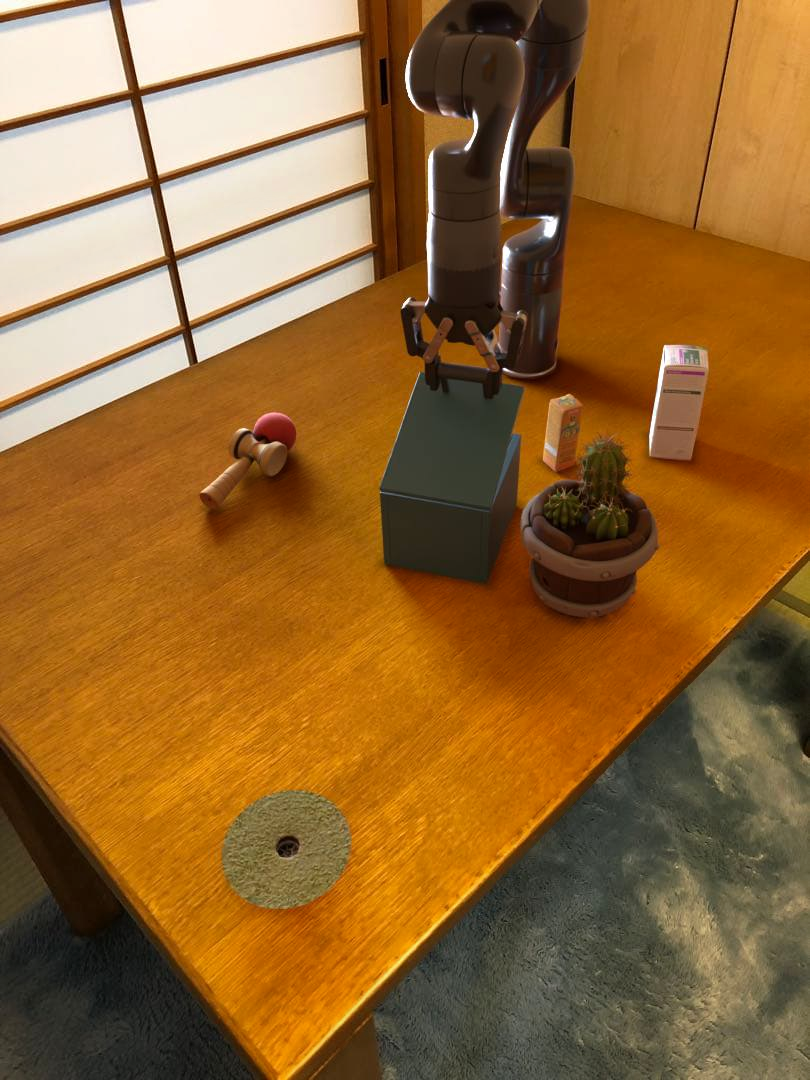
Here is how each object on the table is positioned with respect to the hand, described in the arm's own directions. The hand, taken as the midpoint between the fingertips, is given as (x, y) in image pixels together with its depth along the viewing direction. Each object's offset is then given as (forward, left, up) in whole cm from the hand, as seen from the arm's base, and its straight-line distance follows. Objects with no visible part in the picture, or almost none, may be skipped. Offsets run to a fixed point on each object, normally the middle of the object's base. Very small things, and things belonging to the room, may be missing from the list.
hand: (463, 390), depth 101 cm
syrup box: (-9, +31, -18) cm, 37 cm away
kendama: (-13, -27, -18) cm, 35 cm away
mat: (+45, -24, -18) cm, 54 cm away
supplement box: (-8, +15, -18) cm, 25 cm away
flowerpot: (+16, +11, -18) cm, 27 cm away
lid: (+4, -2, -4) cm, 6 cm away
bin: (+4, -2, -18) cm, 19 cm away
